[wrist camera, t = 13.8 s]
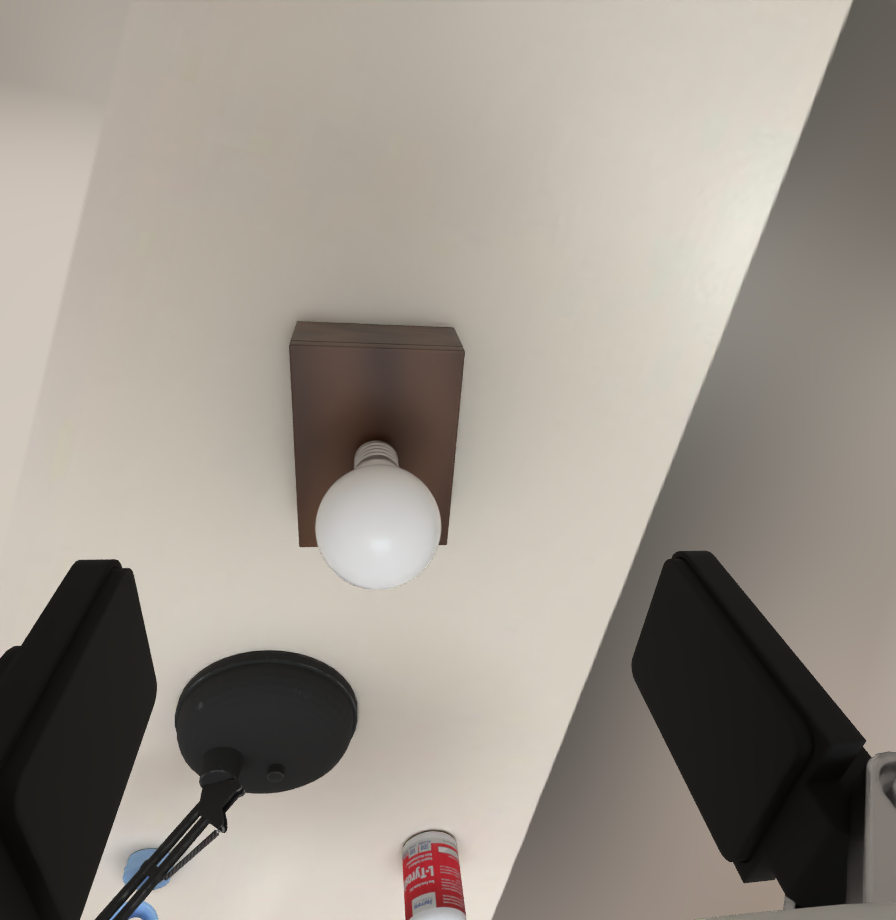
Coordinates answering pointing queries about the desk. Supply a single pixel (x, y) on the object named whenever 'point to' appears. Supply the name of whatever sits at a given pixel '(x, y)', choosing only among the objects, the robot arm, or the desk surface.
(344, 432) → the brown wooden stand
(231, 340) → the desk surface
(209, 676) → the desk lamp
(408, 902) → the pill bottle
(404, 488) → the lightbulb
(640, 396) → the desk surface
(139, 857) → the spotlight
